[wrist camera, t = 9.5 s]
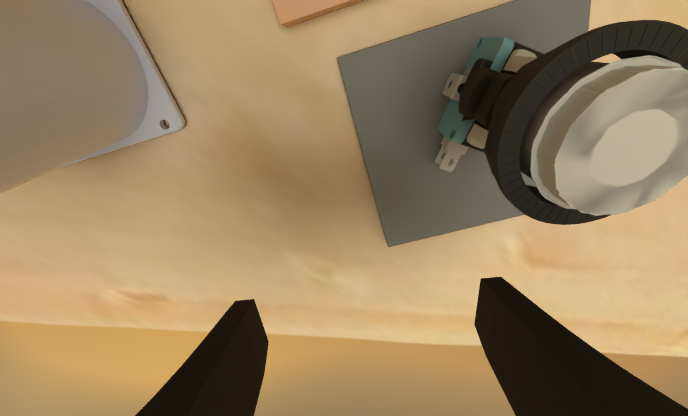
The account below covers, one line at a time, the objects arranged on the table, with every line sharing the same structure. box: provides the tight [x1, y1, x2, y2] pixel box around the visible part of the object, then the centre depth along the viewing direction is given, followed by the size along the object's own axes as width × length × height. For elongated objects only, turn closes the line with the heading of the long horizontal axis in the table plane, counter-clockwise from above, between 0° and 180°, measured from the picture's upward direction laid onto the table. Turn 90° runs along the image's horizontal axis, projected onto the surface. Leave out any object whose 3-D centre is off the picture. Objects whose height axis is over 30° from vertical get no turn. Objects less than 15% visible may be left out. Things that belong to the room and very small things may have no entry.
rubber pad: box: [338, 0, 591, 247], centre depth 17 cm, size 12×12×1 cm
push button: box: [435, 20, 688, 225], centre depth 12 cm, size 7×5×10 cm
